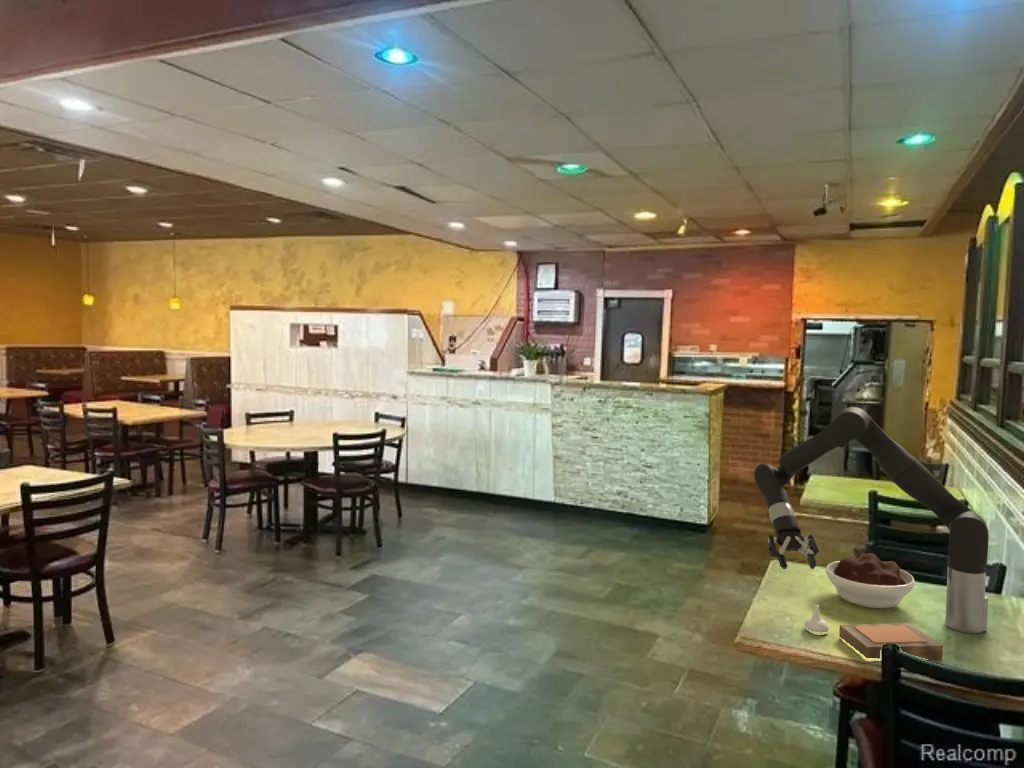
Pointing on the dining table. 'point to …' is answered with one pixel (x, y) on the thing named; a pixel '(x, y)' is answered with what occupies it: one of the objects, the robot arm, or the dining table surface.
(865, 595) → the bowl of brown food
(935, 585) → the dining table surface
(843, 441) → the robot arm
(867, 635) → the mat
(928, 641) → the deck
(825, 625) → the garlic bulb
